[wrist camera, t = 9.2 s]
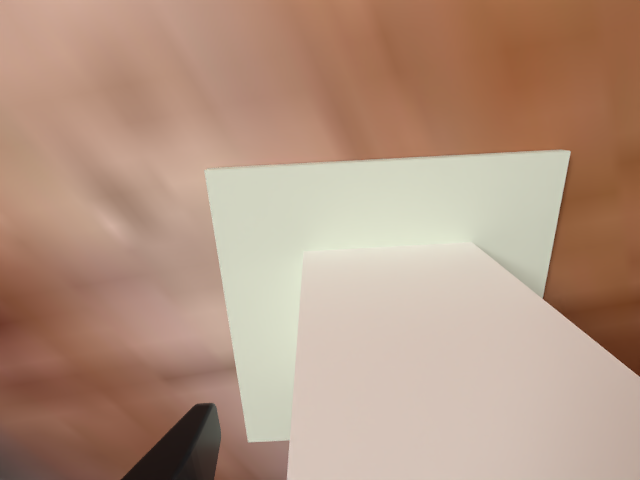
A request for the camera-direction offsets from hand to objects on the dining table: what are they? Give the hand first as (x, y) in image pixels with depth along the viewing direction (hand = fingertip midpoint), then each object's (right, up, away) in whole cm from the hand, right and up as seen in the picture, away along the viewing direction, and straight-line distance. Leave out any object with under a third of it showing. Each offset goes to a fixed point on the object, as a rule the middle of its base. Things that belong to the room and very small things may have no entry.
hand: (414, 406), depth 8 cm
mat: (0, +1, +4) cm, 4 cm away
